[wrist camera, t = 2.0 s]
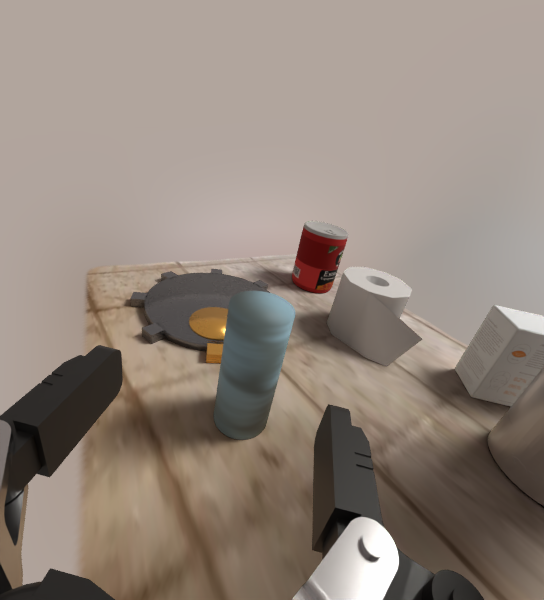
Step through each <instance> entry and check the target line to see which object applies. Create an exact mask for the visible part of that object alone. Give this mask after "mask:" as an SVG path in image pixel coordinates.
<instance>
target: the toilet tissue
mask: <svg viewBox="0 0 544 600" xmlns="http://www.w3.org/2000/svg"><path fill="white" fill-rule="evenodd" d="M411 292H412V289H411V288H410V287H409V286H408V285H406V284H405V283H404V282H403V281H402V280H400V279H398V278H396V277H394V276H392V275H390V274H388V273H386V272H383V271H379V270H375V269H371V268H367V267H349V268H348V269H347V270H346V271H344V272H343V275H342V278H341V281H340V284H339V287H338V290H337V293H336V296H335V299H334V302H333V305H332V308H331V311H330V314H329V317H328V321H327V325H328V327H329V329H330V331H331V334H332V335H333V336H335V337H336V338H338V339H339V340H341V341H342V342H343V343H345V344H346V345H348V346H349V347H351V348H352V349H354V350H355V351H356V352H358V353H359V354H361V355H362V356H364V357H365V358H367V359H370V360H372V361H374V362H377V363H379V364H381V365H384V366H388V365H389V364H390V363H392V362H393V361H394V360H396V359H397V358H398V357H400V356H401V355H402V354H404V353H405V352H406V351H408V350H409V349H410V348H411V347H413V346H414V345H415V344H417V343H418V342H419V341H421V340H422V338H421V337H419V336H418V335H417V334H416V333H415V332H414V331H413V330H412V329H411V328H409V327H408V326H407V325H406V324H405V323H404V322H403V321H402V320H400V319H399V318H400V316H401V314H402V312H403V310H404V308H405V306H406V303H407V301H408V299H409V297H410V294H411Z"/></svg>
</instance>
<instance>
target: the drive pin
mask: <svg viewBox="0 0 544 600" xmlns="http://www.w3.org/2000/svg"><path fill="white" fill-rule="evenodd" d="M294 318H295V309H294V308H293V306H292V305H291V304H290V303H289V302H288V301H287V300H285V299H283V298H282V297H279V296H277V295H275V294H272V293H268V292H263V291H244V292H240V293H237V294H235V295H234V296H233V297H232V298H231V299H230V301H229V308H228V315H227V322H226V329H225V336H224V344H223V351H222V358H221V365H220V373H219V380H218V387H217V394H216V402H215V409H214V422H215V424H216V426H217V428H218V429H219V430H220V431H221V432H222V433H223V434H224V435H226V436H228V437H230V438H233V439H238V440H246V439H251V438H254V437H256V436H257V435H259V434H260V433H261V432H262V431H263V430H264V428H265V426H266V423H267V419H268V416H269V412H270V408H271V404H272V401H273V397H274V393H275V389H276V386H277V382H278V378H279V374H280V370H281V367H282V363H283V359H284V355H285V352H286V348H287V344H288V340H289V336H290V333H291V329H292V325H293V321H294Z"/></svg>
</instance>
